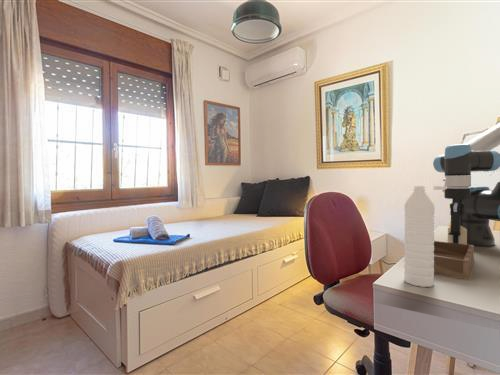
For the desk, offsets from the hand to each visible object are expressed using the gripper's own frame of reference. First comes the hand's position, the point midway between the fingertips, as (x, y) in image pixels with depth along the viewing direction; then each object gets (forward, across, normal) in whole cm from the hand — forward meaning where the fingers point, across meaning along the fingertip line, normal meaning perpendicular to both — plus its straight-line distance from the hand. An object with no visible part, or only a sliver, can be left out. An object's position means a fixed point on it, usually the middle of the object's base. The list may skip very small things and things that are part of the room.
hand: (456, 251), depth 98 cm
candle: (+1, 0, 0) cm, 1 cm away
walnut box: (0, +20, -1) cm, 20 cm away
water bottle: (0, +42, -3) cm, 42 cm away
